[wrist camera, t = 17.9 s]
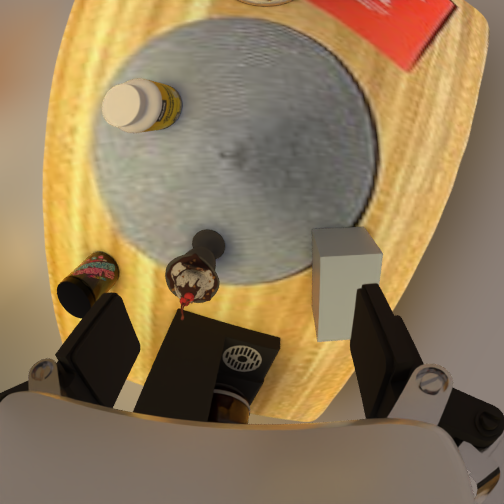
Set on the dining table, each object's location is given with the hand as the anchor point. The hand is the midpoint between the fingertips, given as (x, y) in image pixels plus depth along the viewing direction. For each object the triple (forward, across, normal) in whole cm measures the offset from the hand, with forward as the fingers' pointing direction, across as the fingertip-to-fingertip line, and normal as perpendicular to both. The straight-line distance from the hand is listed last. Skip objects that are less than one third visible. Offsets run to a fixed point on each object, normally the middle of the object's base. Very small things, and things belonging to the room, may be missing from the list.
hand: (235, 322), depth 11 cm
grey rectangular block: (+30, -10, +15) cm, 35 cm away
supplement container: (+31, +29, +13) cm, 44 cm away
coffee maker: (+31, +13, +38) cm, 50 cm away
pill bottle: (+31, +13, -11) cm, 35 cm away
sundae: (+31, +9, +10) cm, 33 cm away
